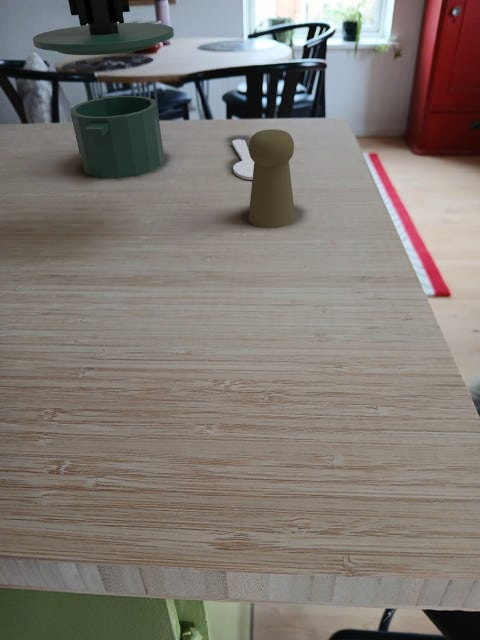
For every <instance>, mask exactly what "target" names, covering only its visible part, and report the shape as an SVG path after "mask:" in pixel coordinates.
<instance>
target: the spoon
mask: <svg viewBox="0 0 480 640" xmlns="http://www.w3.org/2000/svg"><path fill="white" fill-rule="evenodd" d="M231 145H232V147H233V149H234V151H235V152H236V154H237V155H238V157H239V159H240V161H238V162H236V163H235V164H234V165H233V167H232V171H233V173H234V175H236V176H237V177H239V178H240V179H244V180H248V181H252V179H253V169H254V161H253V160H252V159H251V157H250V154H249V146H248V144H247V141H246V140H244V139H234V140H232V141H231Z"/></svg>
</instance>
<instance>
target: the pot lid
mask: <svg viewBox="0 0 480 640" xmlns="http://www.w3.org/2000/svg"><path fill="white" fill-rule="evenodd" d="M84 4H85V9H86V14H87V20H88V24H86V26H80V25H79V26H78V25H77V26H72V27H64V28H59V29H54V30H49V31H44V32H42V33H38V34H36V35H34V36H33V37H32V43H33V46H34V48H37V49H39V50H43V51H50V52H51V51H52V52H57V53H59V54H63V55H70V56H71V55H72V56H103V55H105V56H107V55H116V54H124V53H125V54H126V53H131V52H136V51H142V50H145V49H149V48H152V47H154V46H155V45H156V44H159V43H163V42H167V41H169V40H171V39H173V38H174V36H175V31H174V28H173V27H172V26H170V25H168V24H163V23H162V24H161V23H152V22H151V23H150V22H149V23H148V22H124V23H119V22H117V21H116V14H115V8H114V2H113V0H84Z"/></svg>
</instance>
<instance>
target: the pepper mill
mask: <svg viewBox="0 0 480 640" xmlns="http://www.w3.org/2000/svg"><path fill="white" fill-rule="evenodd" d="M248 150H249V154H250V157H251V159H252V160H253V161H254V169H253V179H252V180H251V188H250V189H251V190H250V198H249V199H250V200H249V210H248V221H249V223H250V224H252V225H254V226H256V227H259V228H265V229H277V228H283V227H286V226H289V225H291V224H292V223H294V221H295V220H296V211H295V205H294V204H295V203H294V195H293V194H294V193H293V184H292V177H291V167H290V160H291V159H292V158H293V155H294V152H295V143H294V139H293V137H292V135H291V134H290V133H289V132H288V131H285V130H282V129H273V128H272V129H263V130H259V131H257V132H255V133H254V134H252V135H251V137H250V138H249V144H248Z"/></svg>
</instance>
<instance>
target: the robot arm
mask: <svg viewBox="0 0 480 640" xmlns="http://www.w3.org/2000/svg"><path fill="white" fill-rule="evenodd" d="M67 2H68V7H69V13H70V15H71V16H77V17H78V22H79V26H87V25H88V20H87V14H86V9H85V4H84V0H67ZM113 2H114V8H115V14H116V21H117V23H125V19H124V18H125V17H124V13H130V12H131V10H130V2H129V0H113Z"/></svg>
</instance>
